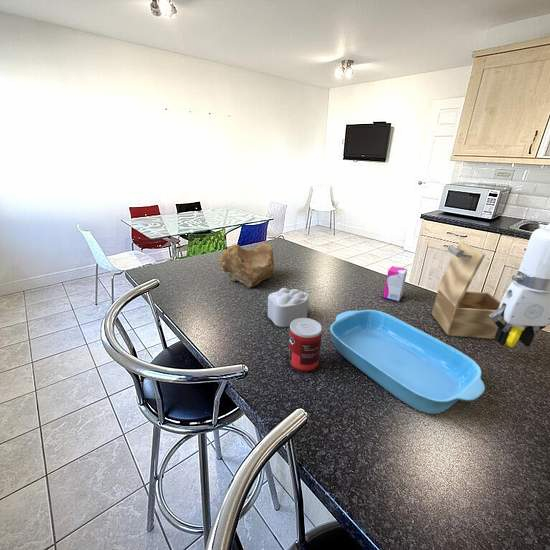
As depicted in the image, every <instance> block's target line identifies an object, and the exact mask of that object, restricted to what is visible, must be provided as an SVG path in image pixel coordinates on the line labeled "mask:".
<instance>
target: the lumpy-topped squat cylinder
mask: <svg viewBox="0 0 550 550" xmlns="http://www.w3.org/2000/svg"><path fill="white" fill-rule="evenodd" d="M309 298H310V296H309V294H308V293H307V292H306V291H303V290H300V289H297V288H294V289H293V288H292V289H290V288H287V287H282V288H280V289H279V290H278V291H274V292H271V293H269V294H268V296H267V318H268V319H269V320H271V321H272V322H273V324H274V325H275V326H277V327H280V328H281V327H282V328H285V327H286V328H287V327H290V324H291V322H292V321H293V320H295V319H298V318H308V312H309Z"/></svg>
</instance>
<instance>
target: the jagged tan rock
mask: <svg viewBox="0 0 550 550" xmlns="http://www.w3.org/2000/svg"><path fill="white" fill-rule="evenodd" d="M274 261H275V260H274V249H273V246H272V245H271V244H270V243H267V242H262V243H260V244H259V245H257V247H254V248H242V247H241V245H239V244H232V245H231V246H229V248H227V249H226V250H224V252H223V253H222V254H221V255H220V260H219V268H220V270H221V271H223V272H225V273H226V274H227V275H228V277H229V279H230V280H231V281H233V282H239V283H241V284H242V285H244V286H246V287H247V288H249V289H251V288H253V287H255V286H258V285H259V284H260V283H261V282H263V281H264V280H268V279H270V278H271V277H272V276H273V273H274V270H275V262H274Z"/></svg>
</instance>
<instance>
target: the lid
mask: <svg viewBox="0 0 550 550" xmlns="http://www.w3.org/2000/svg"><path fill="white" fill-rule="evenodd" d="M447 252H449V253H451V254H452V256H451V258H450V261H449V263H448V265H447V267H446V269H445V271H444V273H443V275H442V278H441V279H440V281H439V284H438V285H437V290H440V291H441V292H442V293H443V294H444V296H445V297H446V298H447V299H448V300H449V301H450V302H451V303H452V304H453V305H454V306H455V307H458V306H459V304H460V302H461V300H462V298H463V296H464V295H465V293H466V291H468V289H469V287H470V286H471V283H472V281H473V279H474V278H475V275H476V274H477V272H478V270H479V268H480V267H481V264H482V263H483V261H484V259H485V257H486V254H485V253H483V252H481V251H480V250H478V249H476V248H475V247H473V246H471V245H470V244H468V243H466V242H465V241H463V240H460V241H459V243H457V246H456V247H455V246H454V245H449V246H447Z"/></svg>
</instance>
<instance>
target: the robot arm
mask: <svg viewBox="0 0 550 550" xmlns="http://www.w3.org/2000/svg"><path fill="white" fill-rule="evenodd" d="M511 281H512V282H511V283H510V284H509V285H508V288H507V289H506V290H505V292H504V294H503V296H502V298H501V301H500V302H501V303H500V305H499V308H498V309H497V310H496V311H494V312H493V313H491V314H490V315H489V316H488V317H489V318H490V319H491V320H492V321H493V322H494V323H495V324H496V326H497V327H498V329H497V332H496V335H495V339H494V340H495V341H496V342H497V343H498V344H499V345H500V346H504V345H505V342H506V340H507V337H508V335H509V332H508V331H509V329H511V328H512V327H511V326H512V325H523V326H524V327H525V329H524V331H522V334H521V336H520V338H519V340H518V341H519V342H521V343H522V344H523V345H524V346H525V347H528V348H529V347H531V344H532V342H533V340H534V338H535V335H538V334H539V333H540V331H541V330H543V329H545V328H546V327H547V326H550V222H549V223H548V224H547V225H546V226H545V227H540V228H537V229H535V230H534V231H532V233H531V235H530V237H529V240H528V243H527V246H526V249H525V252H524V254H523V257H522V259H521V262H520V266H519V267H518V270H517V273H516V274H512V276H511ZM500 316H502V318H501V319H500V320H499V319H498V318H499V317H500ZM505 322H506V324H505V325H503V324H504V323H505ZM505 346H506V345H505Z"/></svg>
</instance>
